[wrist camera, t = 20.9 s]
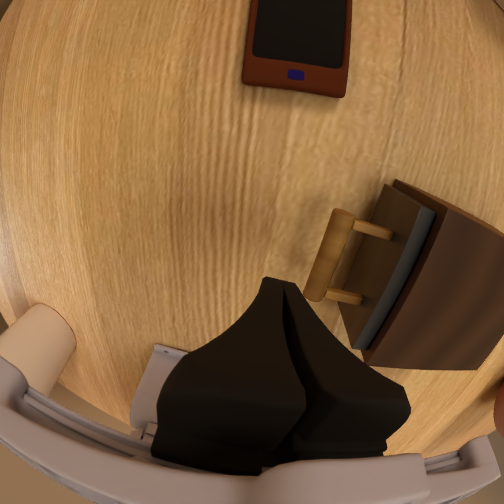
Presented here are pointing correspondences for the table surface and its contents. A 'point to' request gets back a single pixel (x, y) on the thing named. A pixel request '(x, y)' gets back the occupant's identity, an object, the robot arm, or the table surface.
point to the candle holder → (39, 346)
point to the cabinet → (446, 296)
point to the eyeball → (499, 411)
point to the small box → (500, 3)
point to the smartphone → (299, 45)
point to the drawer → (371, 262)
